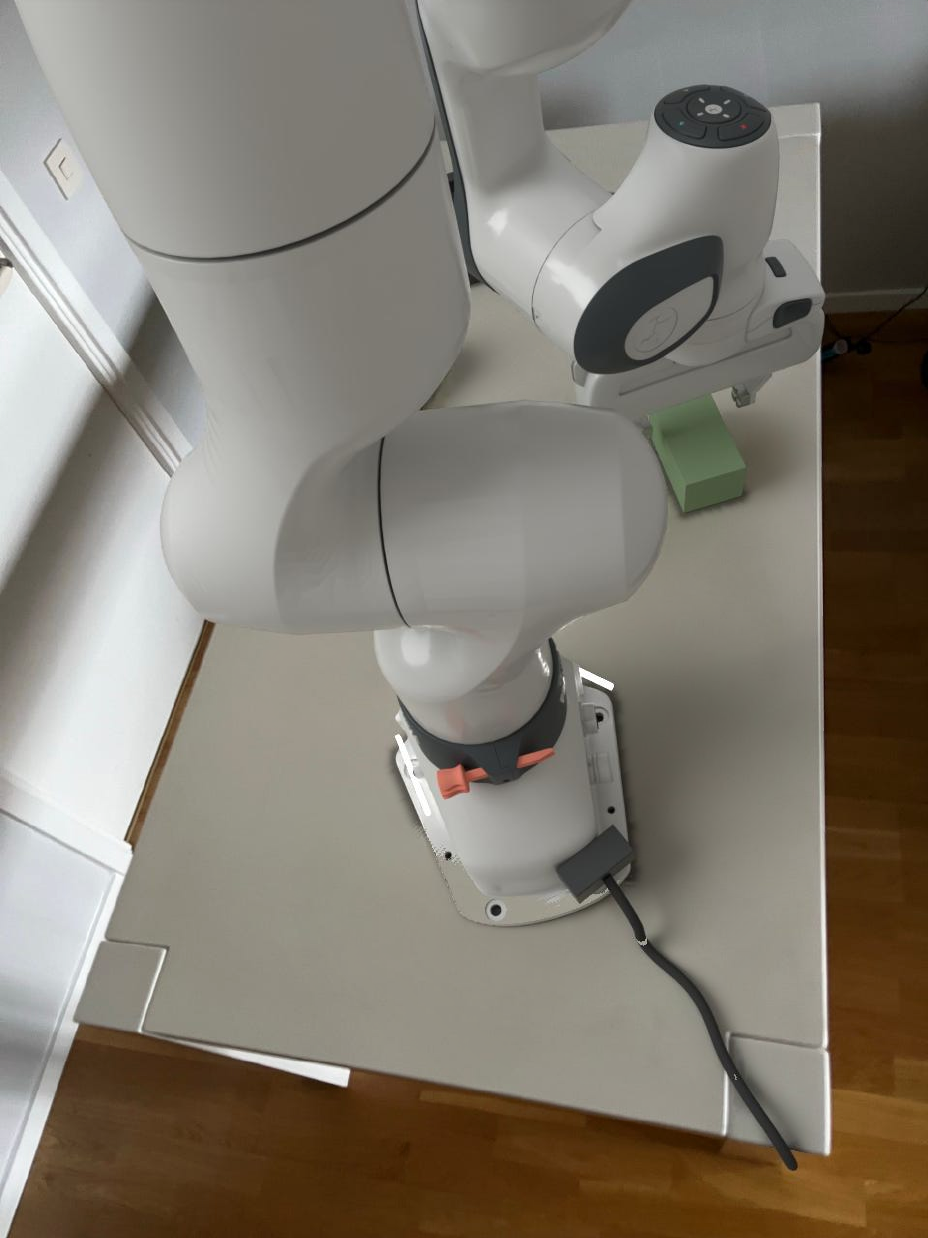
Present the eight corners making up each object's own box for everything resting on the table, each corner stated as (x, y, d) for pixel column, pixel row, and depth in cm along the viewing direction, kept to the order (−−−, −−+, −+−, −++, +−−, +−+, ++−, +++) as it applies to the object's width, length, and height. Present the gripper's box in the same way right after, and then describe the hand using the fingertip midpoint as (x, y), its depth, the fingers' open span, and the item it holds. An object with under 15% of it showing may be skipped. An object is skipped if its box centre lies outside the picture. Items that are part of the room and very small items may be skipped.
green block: (741, 496, 80) (746, 466, 76) (683, 513, 80) (685, 485, 76) (703, 415, 85) (706, 383, 81) (648, 432, 85) (648, 401, 81)
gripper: (582, 379, 65) (592, 482, 78) (847, 287, 64) (815, 407, 77) (556, 320, 68) (570, 429, 80) (809, 232, 67) (785, 355, 79)
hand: (691, 417), depth 79 cm, fingers open, 8 cm apart
